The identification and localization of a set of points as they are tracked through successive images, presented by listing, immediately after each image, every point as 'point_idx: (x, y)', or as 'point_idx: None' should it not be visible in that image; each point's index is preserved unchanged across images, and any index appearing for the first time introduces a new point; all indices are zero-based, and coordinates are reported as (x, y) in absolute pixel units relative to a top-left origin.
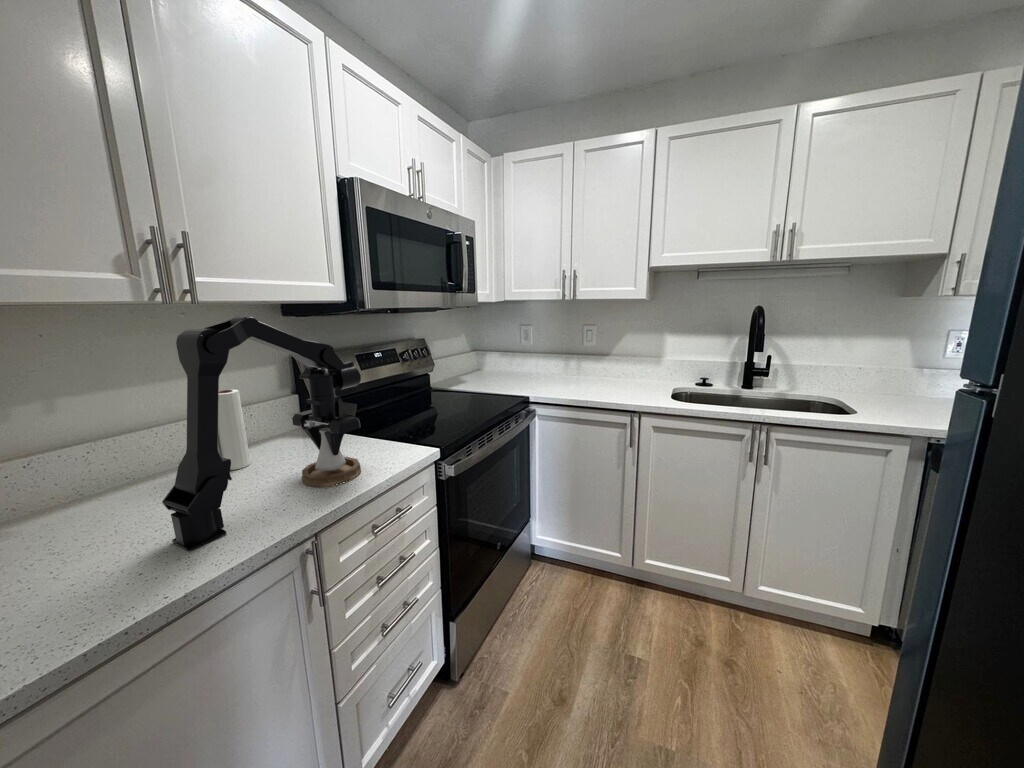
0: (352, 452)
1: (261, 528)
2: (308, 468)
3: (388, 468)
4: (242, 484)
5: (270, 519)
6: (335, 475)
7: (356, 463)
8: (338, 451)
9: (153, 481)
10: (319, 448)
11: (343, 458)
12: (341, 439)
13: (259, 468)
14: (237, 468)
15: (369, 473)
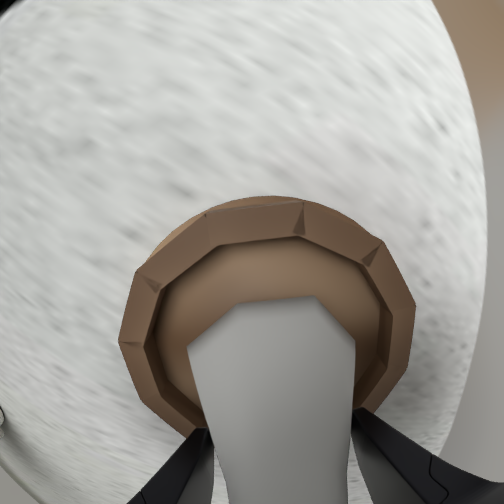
0: (69, 99)
1: None
2: (188, 421)
3: (437, 132)
4: (102, 469)
5: (361, 494)
6: (385, 393)
7: (367, 254)
8: (376, 419)
9: (10, 466)
10: (212, 476)
11: (325, 331)
12: (450, 470)
13: (14, 397)
14: (2, 416)
15: (414, 221)
